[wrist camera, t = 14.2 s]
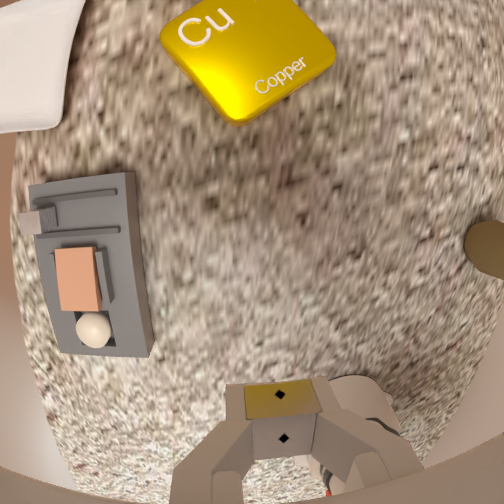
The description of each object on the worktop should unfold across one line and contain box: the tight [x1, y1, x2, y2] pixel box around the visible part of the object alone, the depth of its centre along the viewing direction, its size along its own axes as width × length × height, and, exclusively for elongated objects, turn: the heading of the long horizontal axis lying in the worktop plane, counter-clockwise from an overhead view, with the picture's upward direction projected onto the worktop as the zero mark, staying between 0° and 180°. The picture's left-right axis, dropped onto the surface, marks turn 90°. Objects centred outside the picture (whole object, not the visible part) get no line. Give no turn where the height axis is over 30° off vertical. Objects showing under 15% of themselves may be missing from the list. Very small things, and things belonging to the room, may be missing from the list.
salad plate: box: [0, 0, 86, 134], centre depth 27 cm, size 21×21×3 cm
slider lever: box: [19, 206, 57, 236], centre depth 29 cm, size 2×3×4 cm
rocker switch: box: [55, 246, 102, 311], centre depth 31 cm, size 7×5×1 cm
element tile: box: [160, 0, 336, 127], centre depth 30 cm, size 15×15×5 cm
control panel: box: [28, 172, 155, 358], centre depth 34 cm, size 22×13×6 cm, turn 1°
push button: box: [76, 310, 113, 348], centre depth 35 cm, size 4×4×3 cm
